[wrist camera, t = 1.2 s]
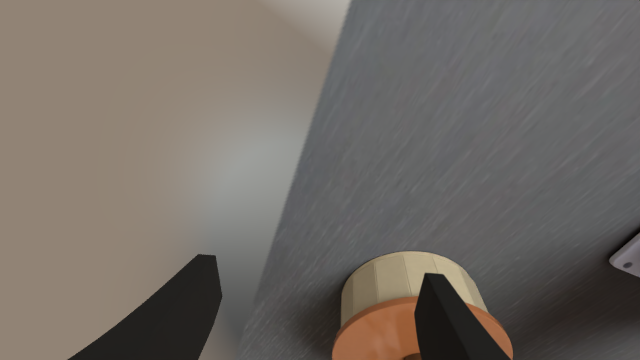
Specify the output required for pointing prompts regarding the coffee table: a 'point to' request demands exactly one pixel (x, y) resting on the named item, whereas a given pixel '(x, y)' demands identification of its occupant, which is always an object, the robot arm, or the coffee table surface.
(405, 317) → the lid
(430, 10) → the coffee table surface
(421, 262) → the pot
